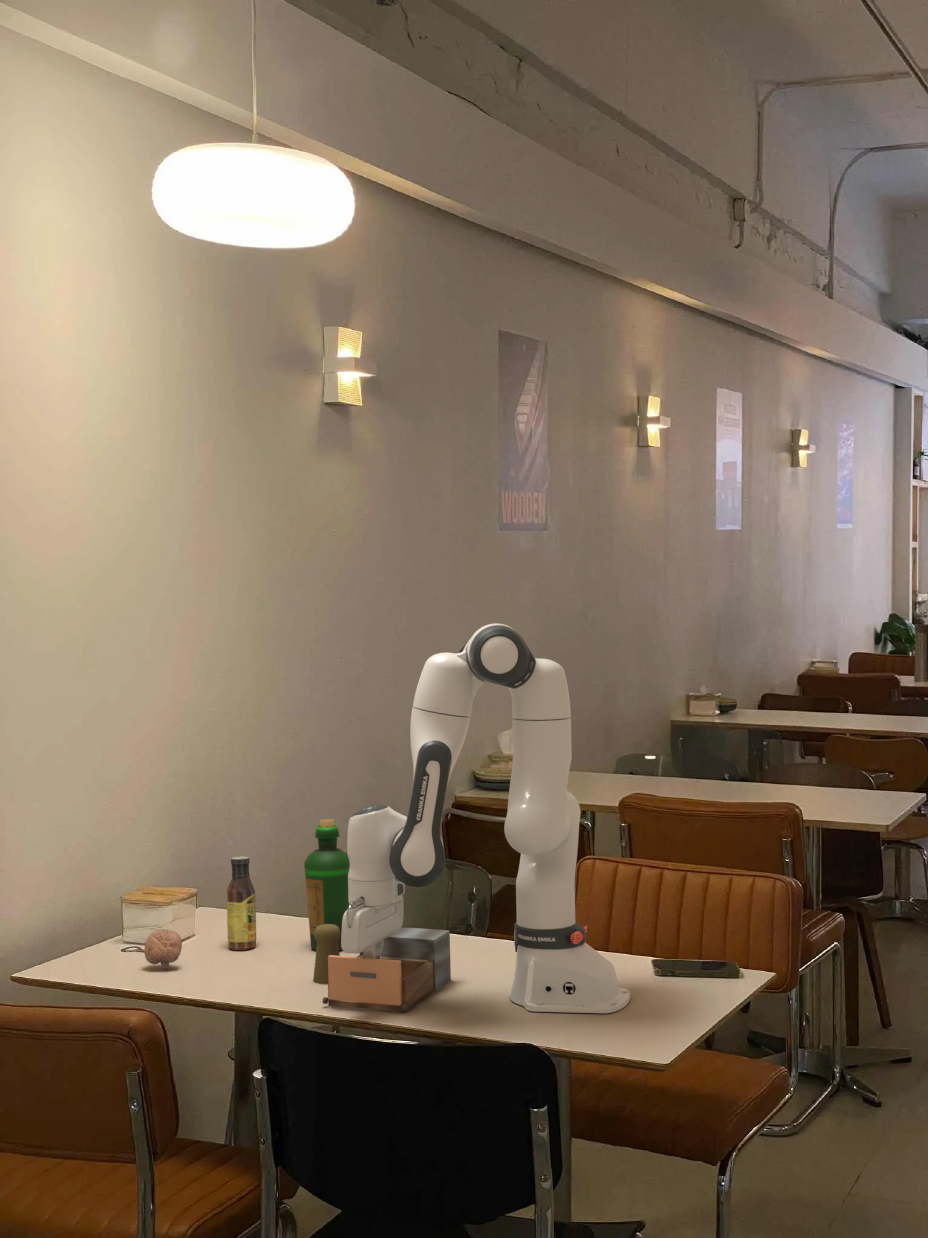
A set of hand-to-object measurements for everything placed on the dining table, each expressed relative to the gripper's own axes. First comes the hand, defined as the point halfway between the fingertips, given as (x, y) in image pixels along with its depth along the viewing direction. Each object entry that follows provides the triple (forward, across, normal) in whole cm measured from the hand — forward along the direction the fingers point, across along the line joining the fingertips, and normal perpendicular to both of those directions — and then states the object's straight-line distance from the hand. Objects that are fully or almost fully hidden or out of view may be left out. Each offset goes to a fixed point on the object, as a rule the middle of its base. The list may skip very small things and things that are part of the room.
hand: (373, 966), depth 260 cm
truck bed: (+7, +7, 0) cm, 10 cm away
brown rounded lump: (+8, +10, +53) cm, 54 cm away
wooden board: (+6, -4, 0) cm, 7 cm away
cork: (+7, +12, +16) cm, 22 cm away
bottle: (+7, +36, +27) cm, 45 cm away
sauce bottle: (+8, +30, +46) cm, 56 cm away
